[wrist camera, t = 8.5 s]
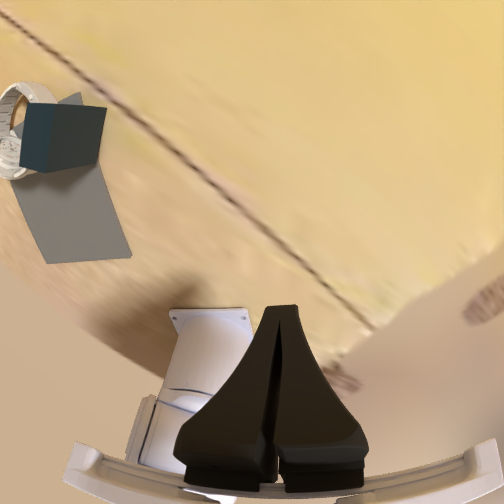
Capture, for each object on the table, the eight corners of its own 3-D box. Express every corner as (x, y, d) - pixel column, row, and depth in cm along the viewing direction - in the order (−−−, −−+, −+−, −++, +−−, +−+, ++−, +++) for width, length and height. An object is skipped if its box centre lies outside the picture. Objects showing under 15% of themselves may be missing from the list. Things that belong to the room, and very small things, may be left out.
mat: (132, 255, 25) (130, 257, 25) (48, 261, 27) (46, 264, 27) (80, 91, 17) (77, 92, 17) (-1, 137, 19) (-4, 138, 18)
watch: (92, 188, 20) (15, 166, 20) (112, 85, 17) (27, 84, 17) (42, 204, 15) (-29, 177, 15) (61, 74, 12) (-17, 83, 12)
